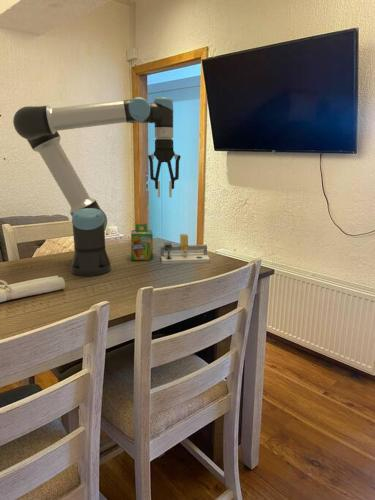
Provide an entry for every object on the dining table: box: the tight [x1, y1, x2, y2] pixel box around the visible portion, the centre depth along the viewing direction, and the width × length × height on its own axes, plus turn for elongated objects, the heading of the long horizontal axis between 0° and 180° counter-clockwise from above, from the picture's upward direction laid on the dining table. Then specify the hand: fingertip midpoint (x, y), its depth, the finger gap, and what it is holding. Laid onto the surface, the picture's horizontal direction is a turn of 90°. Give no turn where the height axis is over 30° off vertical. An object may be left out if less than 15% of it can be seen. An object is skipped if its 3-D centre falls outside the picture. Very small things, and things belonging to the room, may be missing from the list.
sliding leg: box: [179, 233, 189, 257], centre depth 163 cm, size 3×8×8 cm, turn 7°
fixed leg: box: [163, 242, 173, 259], centre depth 163 cm, size 3×8×5 cm, turn 7°
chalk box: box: [130, 223, 154, 261], centre depth 166 cm, size 9×9×15 cm
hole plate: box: [160, 244, 211, 265], centre depth 163 cm, size 20×10×6 cm, turn 97°
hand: (164, 196), depth 160 cm, fingers open, 4 cm apart
